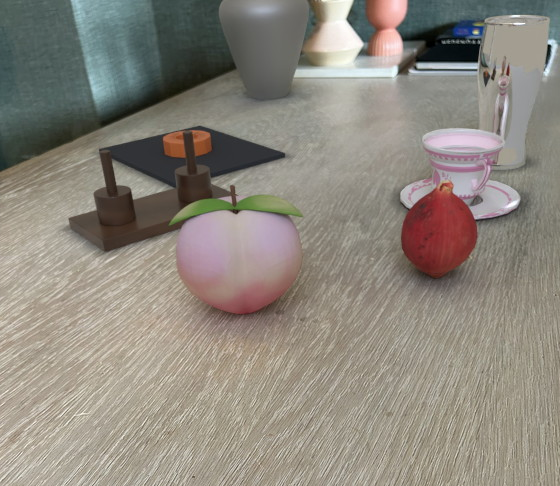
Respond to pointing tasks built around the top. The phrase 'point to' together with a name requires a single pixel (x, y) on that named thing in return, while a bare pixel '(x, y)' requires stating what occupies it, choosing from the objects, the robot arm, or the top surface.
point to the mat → (220, 159)
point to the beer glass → (510, 80)
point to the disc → (176, 143)
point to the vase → (265, 42)
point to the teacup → (464, 171)
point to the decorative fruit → (238, 250)
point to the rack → (143, 204)
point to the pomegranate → (439, 231)
